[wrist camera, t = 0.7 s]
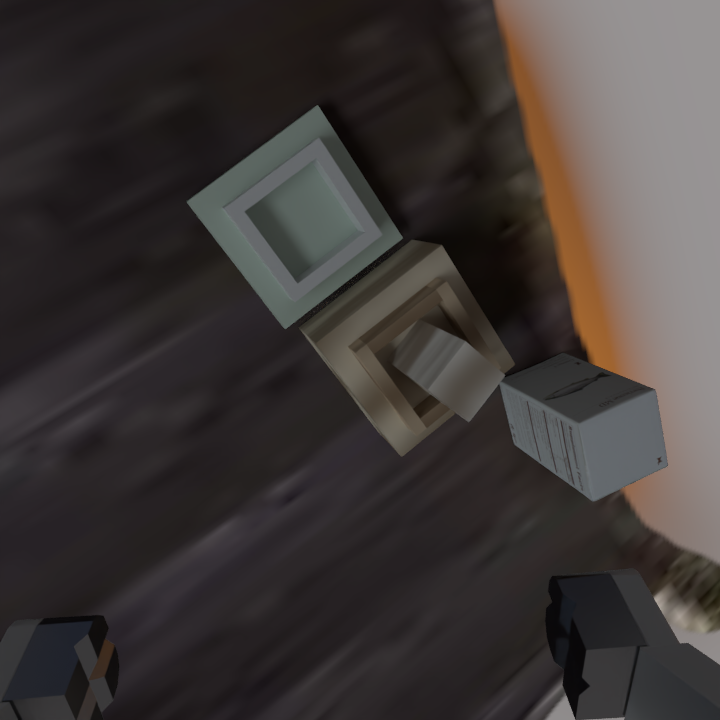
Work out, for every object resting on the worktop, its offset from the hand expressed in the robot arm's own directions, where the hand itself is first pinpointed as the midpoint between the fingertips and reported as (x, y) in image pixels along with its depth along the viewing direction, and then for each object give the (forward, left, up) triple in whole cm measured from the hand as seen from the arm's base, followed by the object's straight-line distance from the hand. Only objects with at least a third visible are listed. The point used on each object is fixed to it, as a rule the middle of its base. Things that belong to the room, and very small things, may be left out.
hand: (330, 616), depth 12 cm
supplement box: (+27, +19, -41) cm, 53 cm away
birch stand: (+13, +11, -41) cm, 45 cm away
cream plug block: (+13, +11, -35) cm, 39 cm away
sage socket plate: (0, +10, -41) cm, 42 cm away
